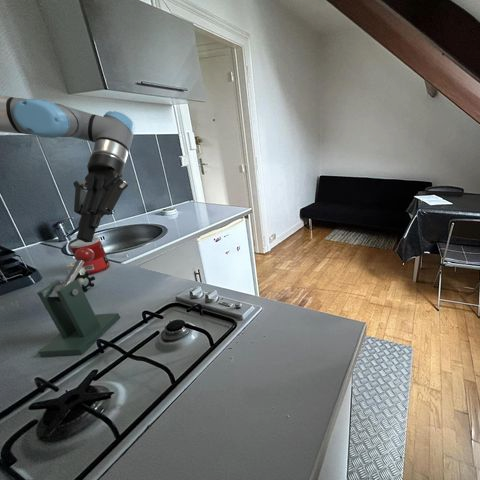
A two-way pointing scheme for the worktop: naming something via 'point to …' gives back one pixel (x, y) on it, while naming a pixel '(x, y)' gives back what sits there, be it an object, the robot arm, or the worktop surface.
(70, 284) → the bracket
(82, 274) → the valve
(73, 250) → the canned food
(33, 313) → the worktop surface
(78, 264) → the lever
